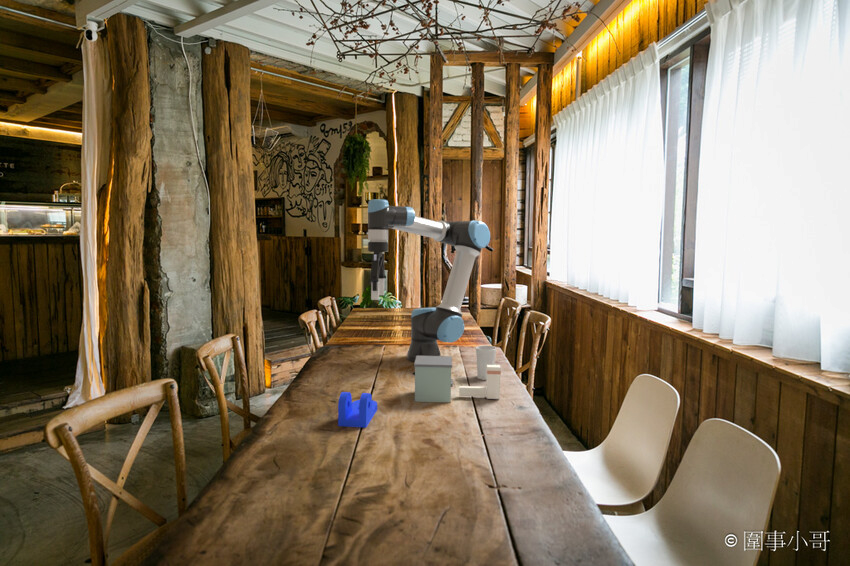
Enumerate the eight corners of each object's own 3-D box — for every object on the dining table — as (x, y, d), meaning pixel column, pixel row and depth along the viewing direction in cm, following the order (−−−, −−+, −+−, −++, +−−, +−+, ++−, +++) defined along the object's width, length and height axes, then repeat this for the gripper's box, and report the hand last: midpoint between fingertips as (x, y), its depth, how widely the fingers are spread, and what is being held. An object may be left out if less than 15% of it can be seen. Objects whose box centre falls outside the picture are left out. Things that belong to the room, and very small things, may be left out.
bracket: (366, 428, 138) (366, 397, 137) (338, 426, 139) (338, 396, 138) (379, 406, 156) (379, 379, 155) (354, 404, 157) (354, 378, 156)
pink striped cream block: (499, 396, 165) (499, 365, 164) (499, 399, 162) (500, 367, 161) (459, 394, 166) (459, 363, 165) (459, 397, 163) (459, 366, 162)
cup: (495, 375, 191) (495, 345, 190) (496, 381, 184) (496, 350, 182) (475, 374, 192) (475, 345, 191) (475, 380, 184) (475, 349, 183)
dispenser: (452, 391, 170) (453, 356, 169) (452, 402, 159) (453, 365, 158) (416, 390, 171) (416, 355, 170) (413, 401, 160) (414, 364, 158)
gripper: (373, 240, 192) (373, 293, 194) (361, 241, 167) (362, 301, 169) (392, 241, 191) (391, 293, 194) (383, 241, 167) (383, 302, 169)
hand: (377, 297), depth 181 cm, fingers open, 13 cm apart
